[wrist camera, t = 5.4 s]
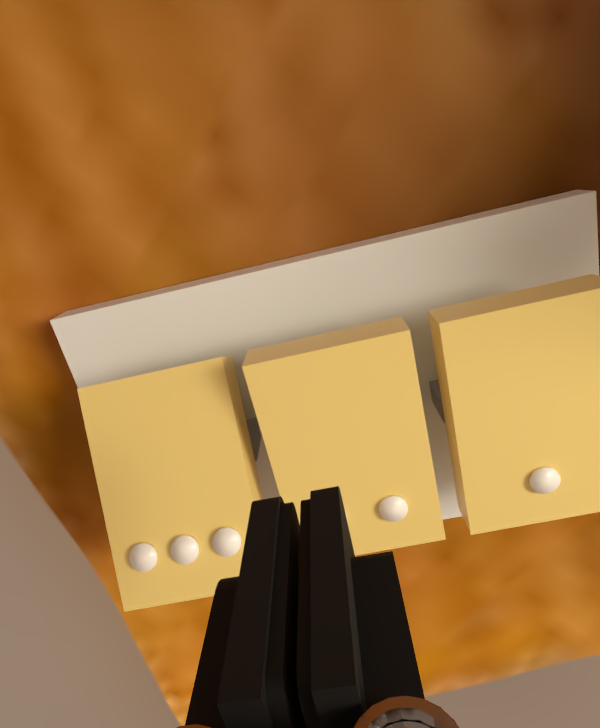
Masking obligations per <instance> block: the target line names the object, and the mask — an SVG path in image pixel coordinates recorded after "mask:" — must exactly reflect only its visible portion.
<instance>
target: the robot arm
mask: <svg viewBox="0 0 600 728" xmlns="http://www.w3.org/2000/svg"><path fill="white" fill-rule="evenodd" d="M177 728H459V727H458V725H457V724H456V722H455V720H454V719H452V718H451V717H450V716H449V715H448V714H447V713H446V712H445V711H444V710H443V709H442V708H441V707H439V706H437V705H435V704H433V703H431V702H429V701H427V700H425V698H424V694H423V689H422V684H421V680H420V675H419V671H418V666H417V662H416V657H415V652H414V648H413V643H412V639H411V634H410V630H409V625H408V620H407V616H406V611H405V607H404V602H403V598H402V593H401V588H400V584H399V579H398V575H397V570H396V566H395V561H394V556H393V552H392V551H391V552H385V553H379V554H373V555H367V556H361V557H355V554H354V549H353V545H352V541H351V536H350V532H349V527H348V523H347V518H346V514H345V509H344V505H343V500H342V496H341V492H340V488H339V486H336V487H331V488H325V489H319V490H313V491H311V492H310V499H307V500H301V506H300V524H299V520H298V516H297V513H296V509H295V505H294V503H293V502H290V503H284V501H283V499H282V497H281V496H279V497H273V498H268V499H262V500H256V501H253V502H252V504H251V509H250V515H249V521H248V527H247V532H246V538H245V544H244V550H243V555H242V561H241V567H240V573H239V576H237V577H231V578H225V579H220V581H219V582H218V584H217V587H216V590H215V594H214V599H213V603H212V607H211V612H210V616H209V621H208V625H207V630H206V634H205V639H204V643H203V648H202V652H201V657H200V661H199V666H198V670H197V675H196V679H195V683H194V688H193V692H192V697H191V701H190V706H189V710H188V715H187V719H186V724H185V726H180V727H177Z"/></svg>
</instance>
